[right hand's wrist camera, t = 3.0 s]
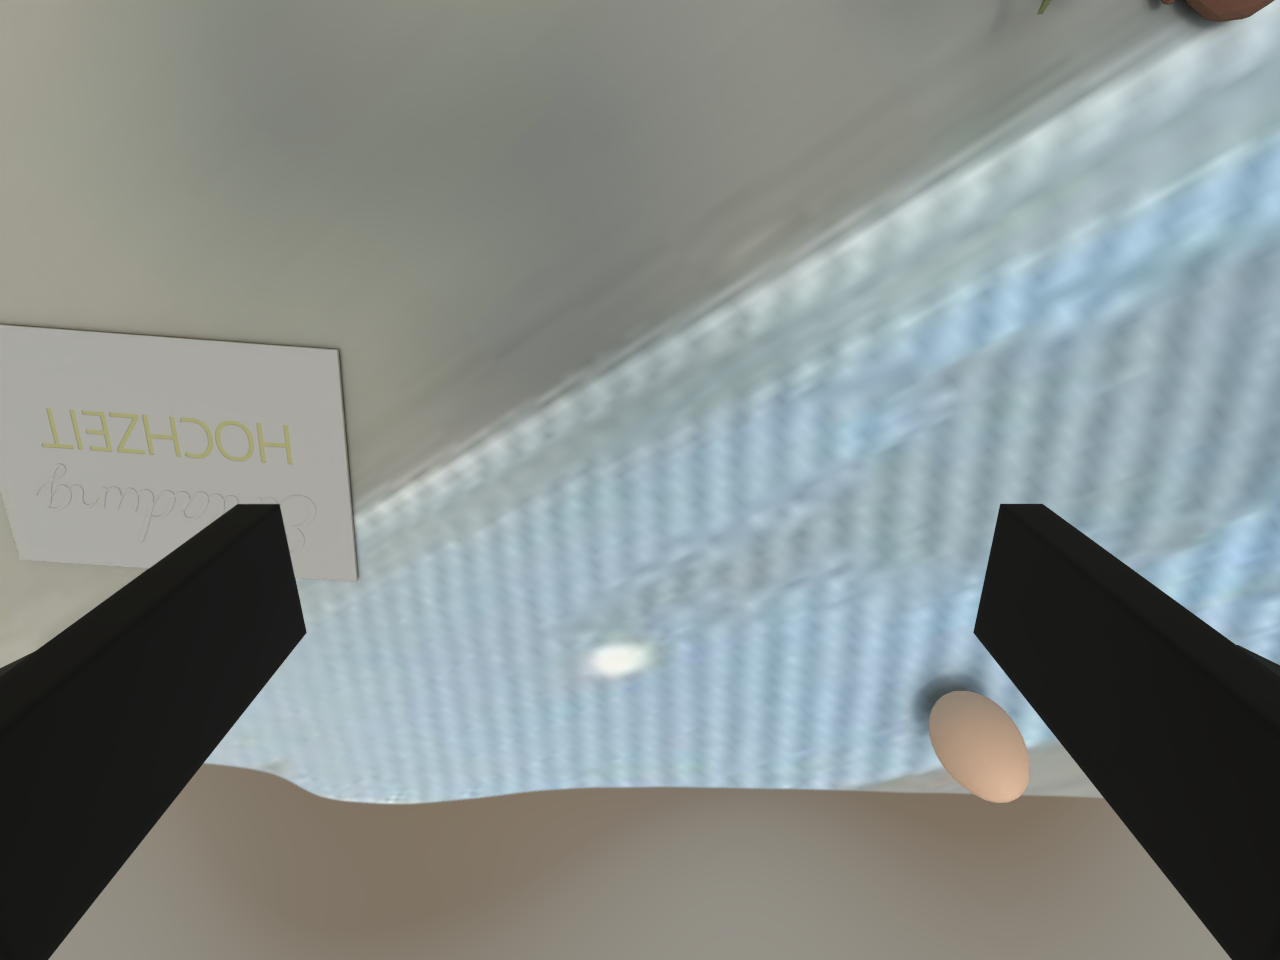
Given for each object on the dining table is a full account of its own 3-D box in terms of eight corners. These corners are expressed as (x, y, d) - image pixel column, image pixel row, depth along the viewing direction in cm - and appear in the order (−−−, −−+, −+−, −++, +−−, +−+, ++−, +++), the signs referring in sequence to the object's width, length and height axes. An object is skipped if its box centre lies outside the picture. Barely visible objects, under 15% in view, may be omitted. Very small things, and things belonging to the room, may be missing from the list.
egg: (927, 741, 49) (980, 839, 42) (902, 688, 48) (952, 780, 40) (998, 714, 48) (1066, 808, 41) (975, 659, 47) (1041, 746, 39)
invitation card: (336, 350, 39) (356, 582, 44) (338, 349, 39) (358, 580, 45) (-50, 321, 38) (18, 560, 44) (-45, 320, 38) (22, 558, 44)
